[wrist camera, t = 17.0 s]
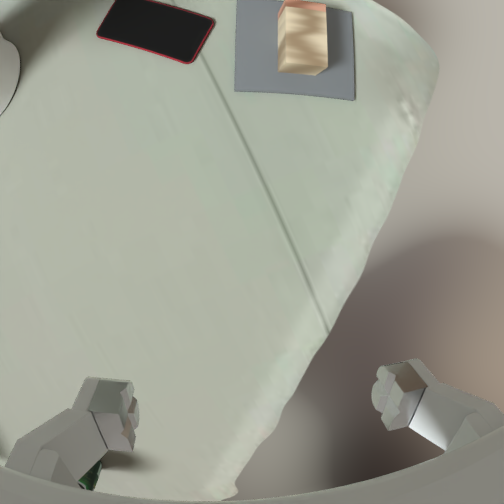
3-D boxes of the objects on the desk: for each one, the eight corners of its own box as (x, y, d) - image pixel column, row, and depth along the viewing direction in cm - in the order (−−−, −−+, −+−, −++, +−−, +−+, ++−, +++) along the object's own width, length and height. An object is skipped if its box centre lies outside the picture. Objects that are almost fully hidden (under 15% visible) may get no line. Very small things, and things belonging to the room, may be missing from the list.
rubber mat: (234, 91, 37) (234, 90, 37) (236, -1, 33) (237, -2, 32) (352, 100, 39) (354, 100, 38) (349, 13, 35) (351, 12, 34)
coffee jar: (63, 456, 55) (44, 514, 37) (66, 442, 53) (45, 504, 36) (99, 472, 57) (86, 532, 40) (105, 459, 56) (91, 524, 38)
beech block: (285, 62, 32) (285, -2, 29) (277, 72, 36) (277, 13, 34) (327, 67, 32) (325, 4, 29) (315, 75, 37) (314, 17, 34)
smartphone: (119, -7, 30) (216, 19, 33) (121, -5, 31) (215, 22, 34) (93, 36, 32) (190, 65, 35) (96, 37, 33) (191, 66, 36)
